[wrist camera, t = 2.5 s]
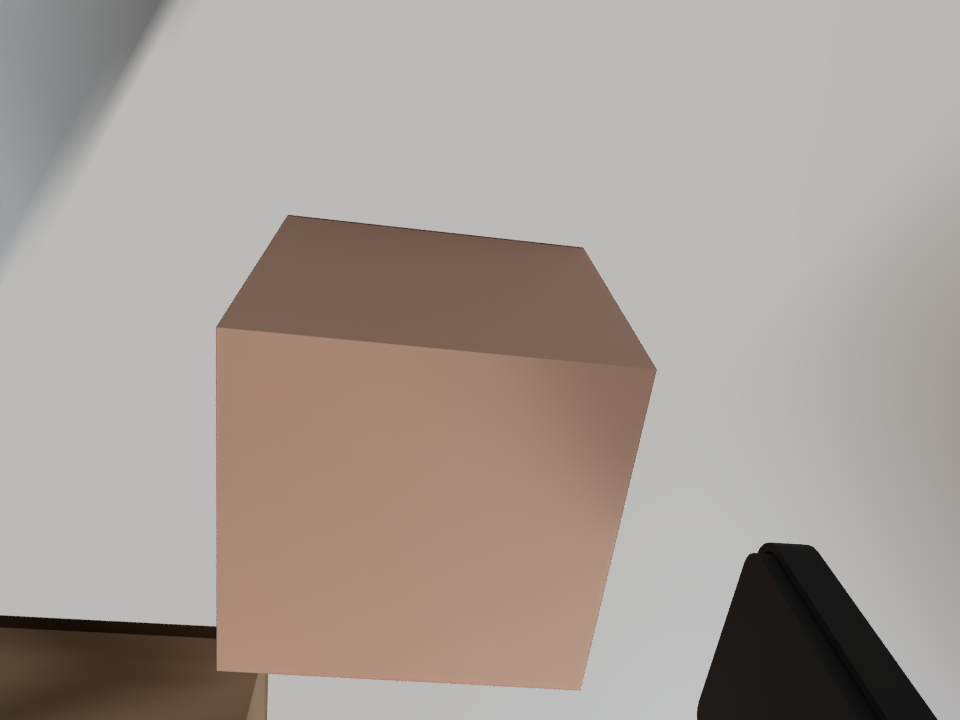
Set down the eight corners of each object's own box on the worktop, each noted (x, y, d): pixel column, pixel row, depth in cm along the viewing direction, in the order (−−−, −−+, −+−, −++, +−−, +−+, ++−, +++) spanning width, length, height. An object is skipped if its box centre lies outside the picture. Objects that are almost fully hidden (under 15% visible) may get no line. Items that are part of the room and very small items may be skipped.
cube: (583, 247, 17) (656, 369, 11) (537, 492, 19) (580, 690, 14) (288, 215, 16) (216, 327, 11) (279, 472, 19) (216, 671, 13)
